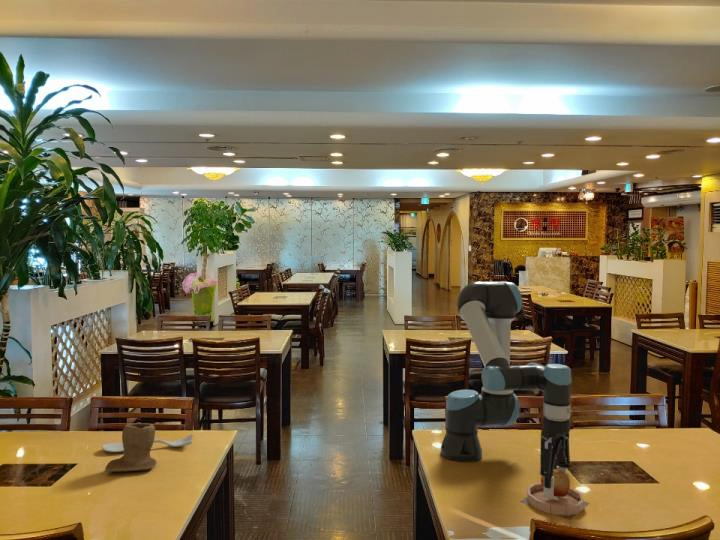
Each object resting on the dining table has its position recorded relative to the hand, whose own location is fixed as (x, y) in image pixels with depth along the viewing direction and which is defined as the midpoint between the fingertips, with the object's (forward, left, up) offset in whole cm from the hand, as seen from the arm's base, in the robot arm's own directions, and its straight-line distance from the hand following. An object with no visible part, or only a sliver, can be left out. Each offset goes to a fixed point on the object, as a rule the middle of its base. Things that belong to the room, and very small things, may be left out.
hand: (554, 493), depth 155 cm
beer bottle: (-13, +27, -4) cm, 31 cm away
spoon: (-128, -66, -4) cm, 144 cm away
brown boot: (-114, -78, -4) cm, 138 cm away
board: (0, 0, -4) cm, 4 cm away
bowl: (0, 0, -3) cm, 3 cm away
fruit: (0, 0, -1) cm, 1 cm away
